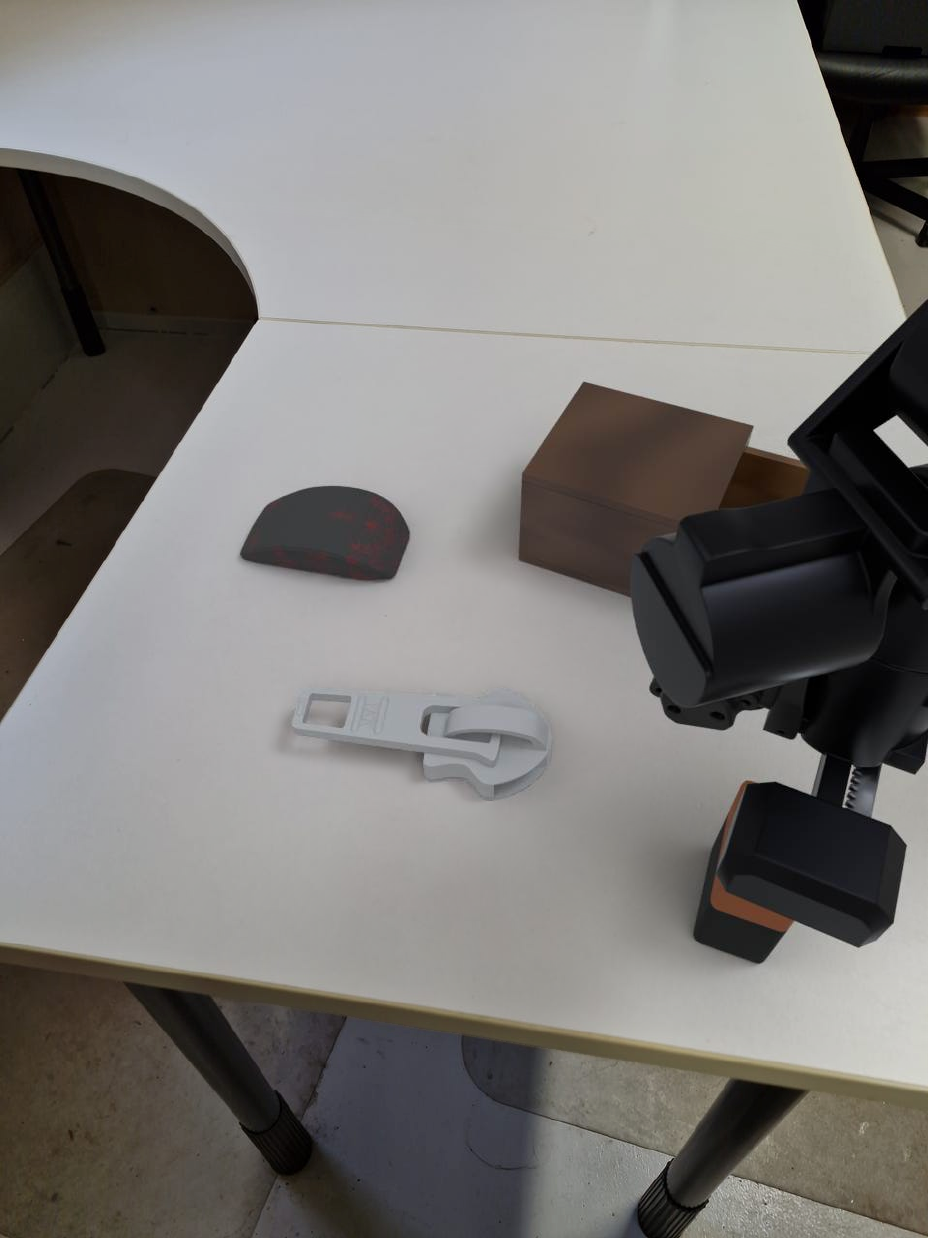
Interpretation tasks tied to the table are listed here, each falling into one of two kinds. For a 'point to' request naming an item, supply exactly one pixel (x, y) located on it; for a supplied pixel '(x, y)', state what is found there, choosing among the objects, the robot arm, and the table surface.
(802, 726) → the robot arm
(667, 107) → the table surface
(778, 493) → the drawer
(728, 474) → the cabinet
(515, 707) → the zipper pull
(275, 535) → the dark grey half-round block
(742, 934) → the battery
